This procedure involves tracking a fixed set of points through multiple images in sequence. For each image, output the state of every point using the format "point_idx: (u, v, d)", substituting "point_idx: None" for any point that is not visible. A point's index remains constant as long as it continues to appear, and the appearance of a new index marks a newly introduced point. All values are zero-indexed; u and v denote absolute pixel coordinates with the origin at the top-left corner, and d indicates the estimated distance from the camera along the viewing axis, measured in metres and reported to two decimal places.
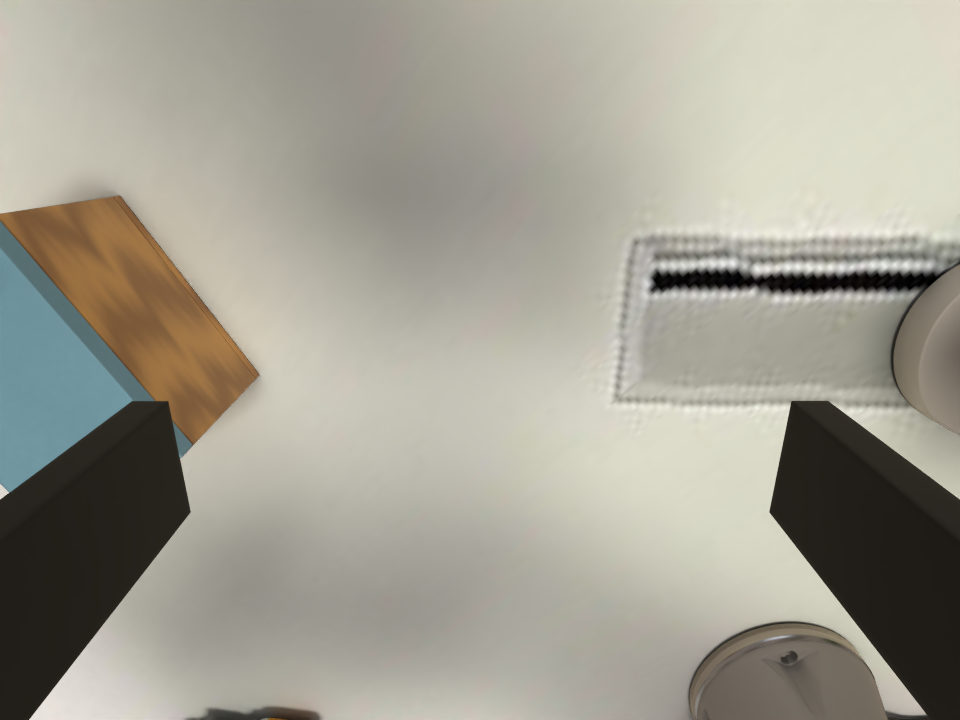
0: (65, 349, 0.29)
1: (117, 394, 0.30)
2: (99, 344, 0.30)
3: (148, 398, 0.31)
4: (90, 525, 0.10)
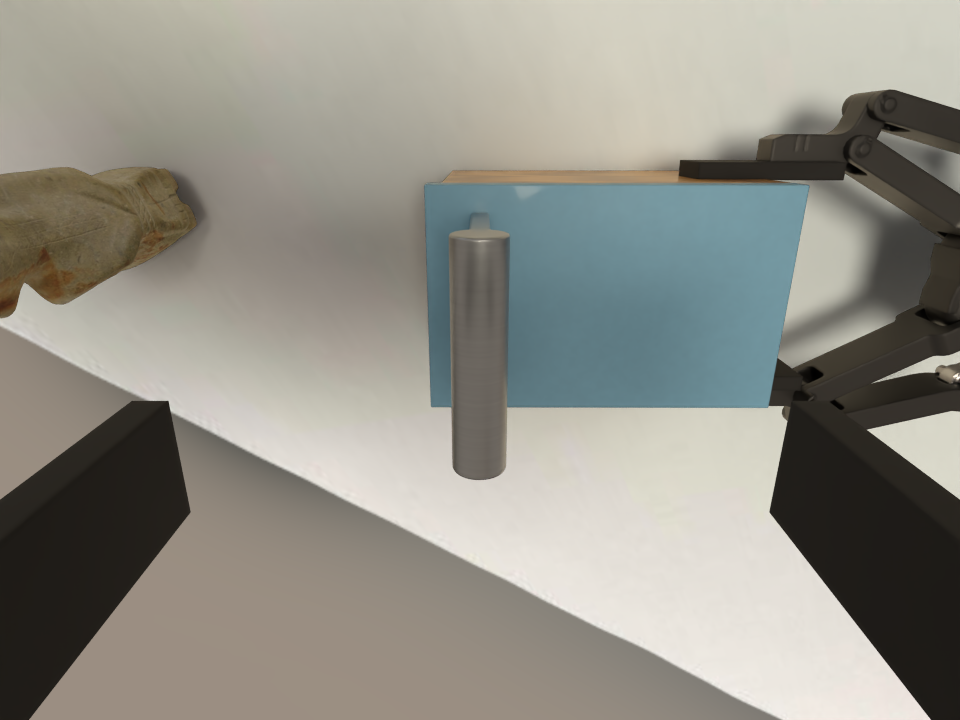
0: (612, 210, 0.23)
1: (693, 196, 0.23)
2: (625, 183, 0.24)
3: (712, 183, 0.24)
4: (90, 525, 0.10)
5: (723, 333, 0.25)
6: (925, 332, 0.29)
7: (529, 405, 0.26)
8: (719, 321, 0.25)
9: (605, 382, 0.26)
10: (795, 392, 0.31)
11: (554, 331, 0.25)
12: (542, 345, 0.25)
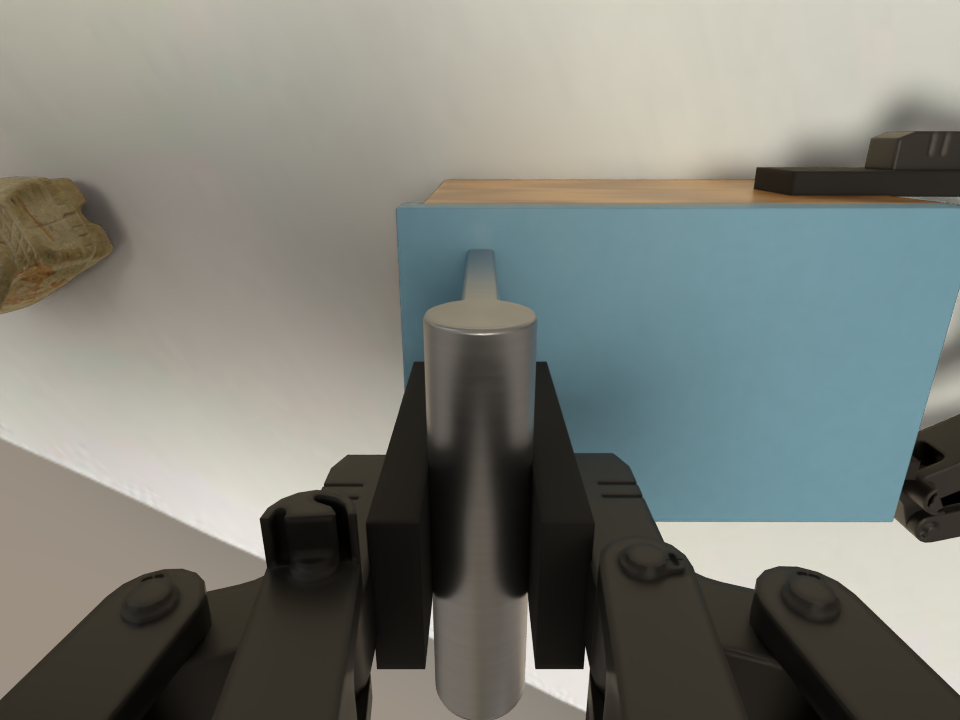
0: (681, 246, 0.15)
1: (804, 224, 0.15)
2: (698, 204, 0.16)
3: (827, 204, 0.16)
4: None
5: (836, 421, 0.17)
6: None
7: None
8: (832, 405, 0.17)
9: (661, 488, 0.18)
10: (905, 479, 0.23)
11: (589, 418, 0.17)
12: (571, 438, 0.17)
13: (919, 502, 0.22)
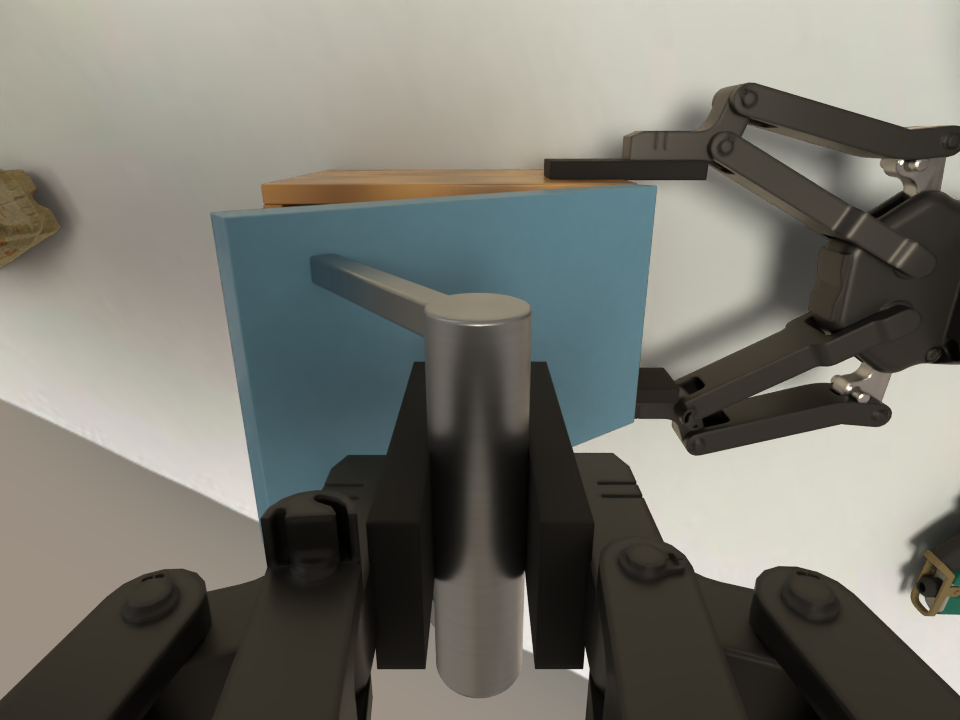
0: (490, 232, 0.18)
1: (567, 206, 0.19)
2: (490, 195, 0.18)
3: (569, 188, 0.20)
4: None
5: (598, 356, 0.22)
6: (808, 341, 0.28)
7: None
8: (595, 344, 0.22)
9: None
10: (675, 404, 0.29)
11: None
12: None
13: (680, 420, 0.28)
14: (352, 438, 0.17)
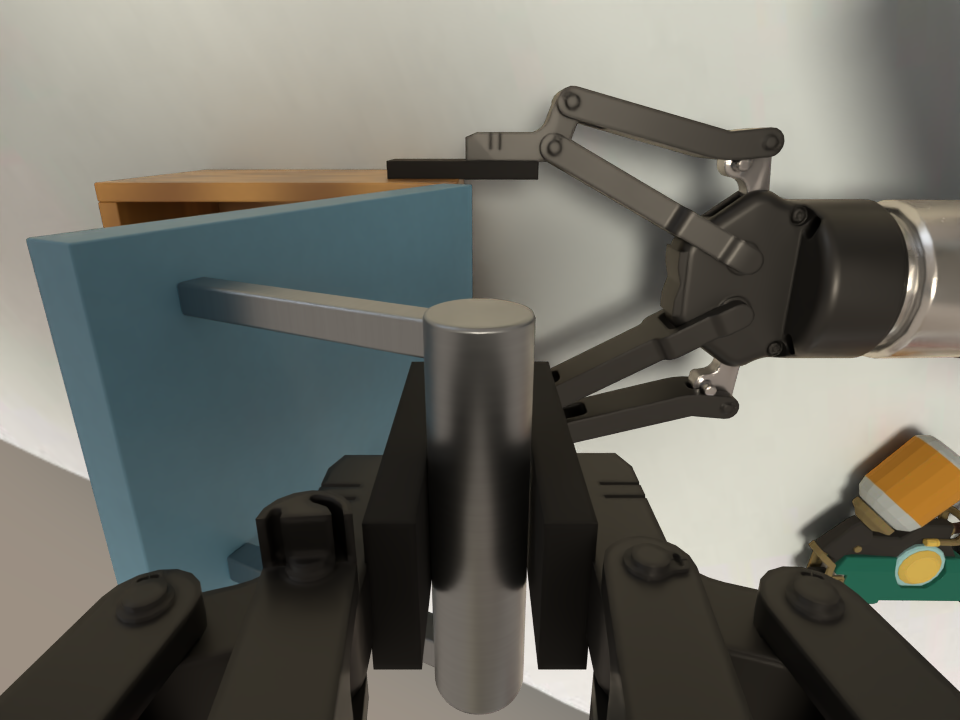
0: (349, 238, 0.17)
1: (409, 207, 0.19)
2: (337, 199, 0.17)
3: (400, 190, 0.20)
4: None
5: None
6: (654, 335, 0.29)
7: None
8: None
9: None
10: None
11: (316, 429, 0.17)
12: (306, 457, 0.16)
13: None
14: (240, 490, 0.14)
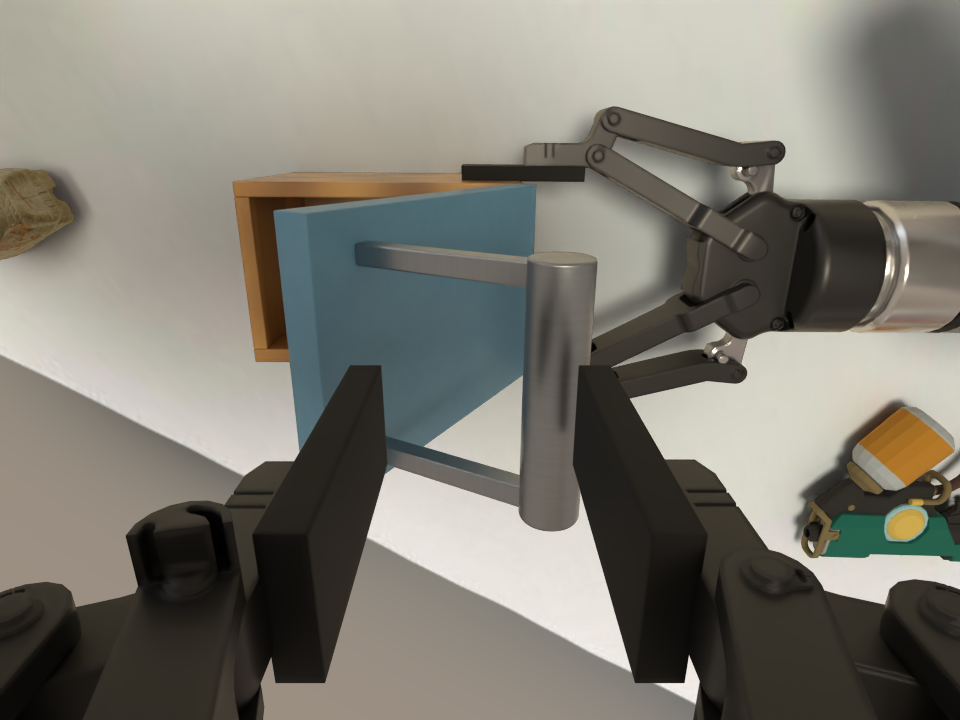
0: (452, 221, 0.22)
1: (491, 200, 0.25)
2: (442, 193, 0.23)
3: (483, 188, 0.26)
4: (360, 461, 0.12)
5: (509, 318, 0.28)
6: (676, 312, 0.34)
7: None
8: (507, 309, 0.28)
9: (456, 396, 0.25)
10: None
11: (423, 361, 0.22)
12: (417, 380, 0.22)
13: None
14: None
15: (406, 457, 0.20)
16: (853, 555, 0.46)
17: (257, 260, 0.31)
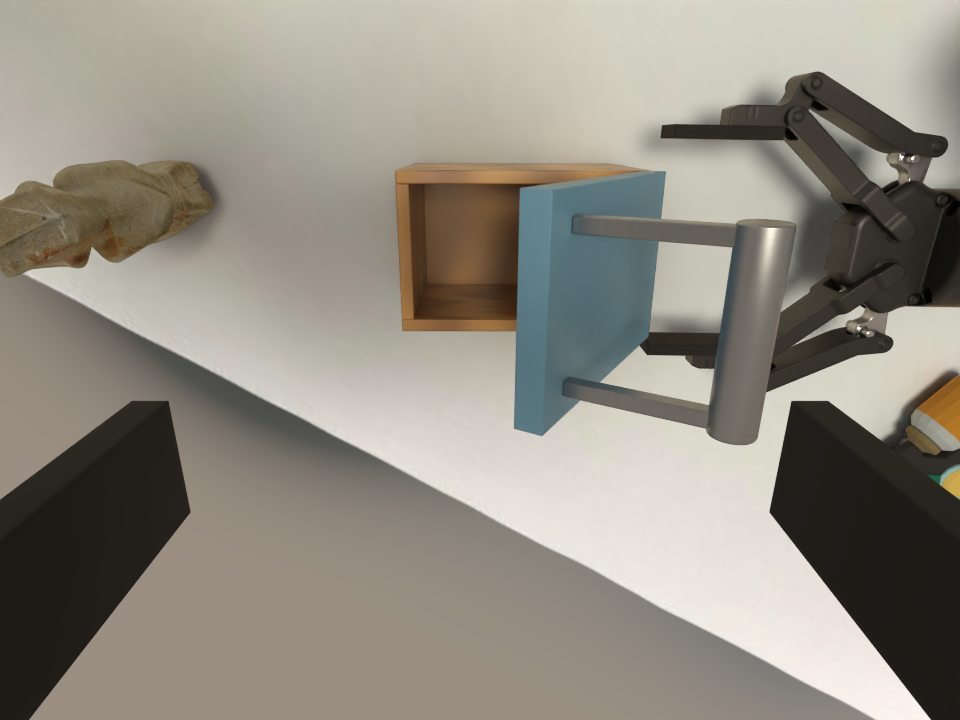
0: (620, 201, 0.27)
1: (641, 184, 0.29)
2: (608, 177, 0.27)
3: (628, 173, 0.30)
4: (90, 525, 0.10)
5: (642, 288, 0.32)
6: (828, 299, 0.39)
7: None
8: (641, 280, 0.32)
9: (609, 352, 0.29)
10: None
11: (595, 318, 0.27)
12: (591, 335, 0.27)
13: None
14: (571, 343, 0.25)
15: (600, 393, 0.24)
16: None
17: (411, 240, 0.35)
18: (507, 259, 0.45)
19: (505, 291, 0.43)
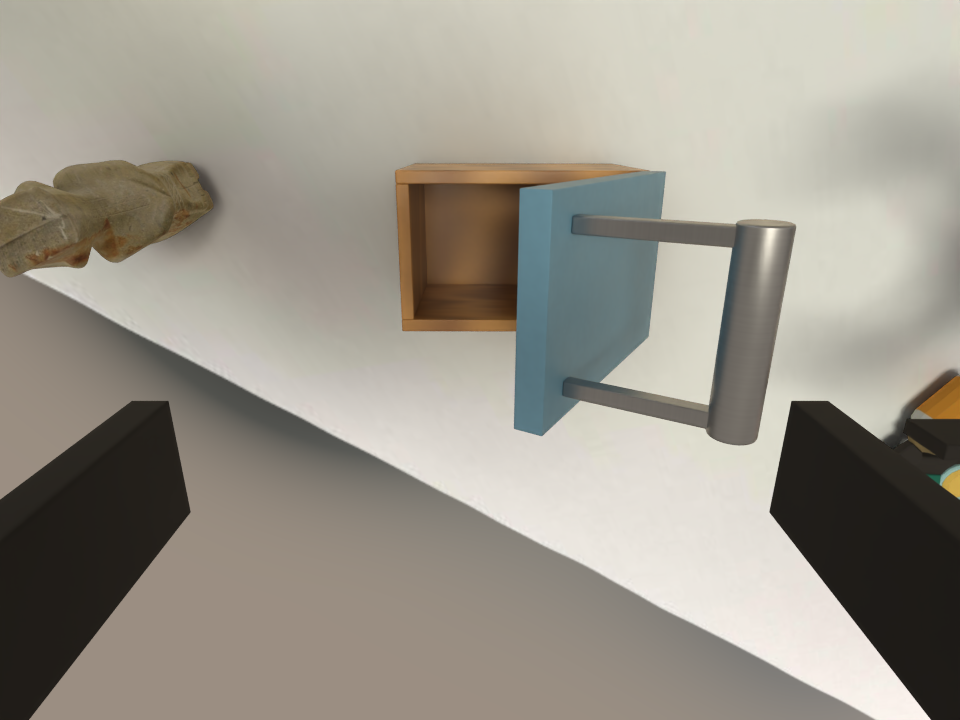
0: (620, 201, 0.27)
1: (641, 184, 0.29)
2: (608, 177, 0.27)
3: (628, 173, 0.30)
4: (90, 525, 0.10)
5: (642, 288, 0.32)
6: None
7: None
8: (641, 280, 0.32)
9: (609, 352, 0.29)
10: None
11: (595, 318, 0.27)
12: (590, 335, 0.27)
13: None
14: (571, 343, 0.25)
15: (600, 393, 0.24)
16: None
17: (411, 240, 0.35)
18: (507, 259, 0.45)
19: (505, 291, 0.43)
